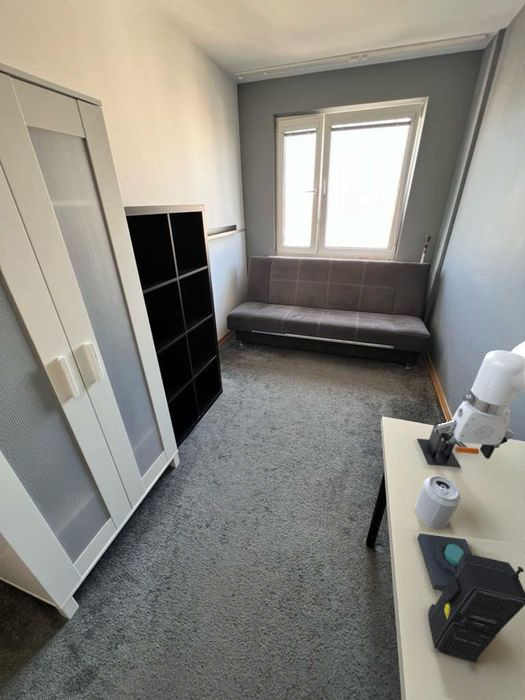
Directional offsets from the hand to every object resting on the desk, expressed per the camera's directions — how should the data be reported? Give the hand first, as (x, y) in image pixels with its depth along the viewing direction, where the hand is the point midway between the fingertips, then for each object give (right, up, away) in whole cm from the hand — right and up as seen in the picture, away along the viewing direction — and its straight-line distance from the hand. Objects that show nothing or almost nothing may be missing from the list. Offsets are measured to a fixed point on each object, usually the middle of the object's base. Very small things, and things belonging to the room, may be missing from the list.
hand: (464, 452), depth 73 cm
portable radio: (-18, -27, -21) cm, 39 cm away
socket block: (-12, -21, -11) cm, 26 cm away
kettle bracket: (+2, -6, +15) cm, 16 cm away
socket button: (-12, -18, -13) cm, 25 cm away
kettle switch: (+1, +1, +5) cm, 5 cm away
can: (-10, -16, -2) cm, 19 cm away
